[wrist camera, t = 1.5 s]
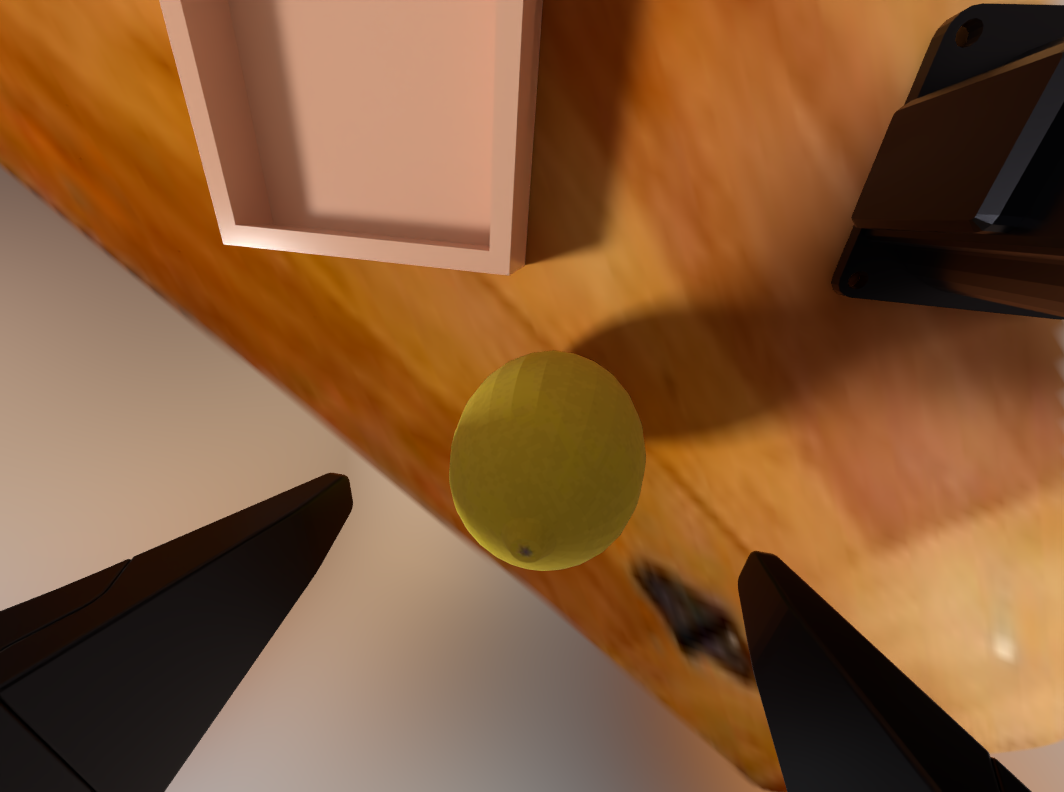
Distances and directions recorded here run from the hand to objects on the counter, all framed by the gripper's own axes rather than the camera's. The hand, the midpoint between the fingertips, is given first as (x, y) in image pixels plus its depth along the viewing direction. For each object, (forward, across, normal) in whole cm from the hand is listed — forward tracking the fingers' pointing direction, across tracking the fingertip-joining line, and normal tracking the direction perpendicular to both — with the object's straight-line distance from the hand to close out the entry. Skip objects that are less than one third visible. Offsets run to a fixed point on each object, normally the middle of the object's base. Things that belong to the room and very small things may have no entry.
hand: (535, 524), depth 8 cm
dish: (+7, +6, -10) cm, 14 cm away
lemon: (+7, 0, 0) cm, 7 cm away
